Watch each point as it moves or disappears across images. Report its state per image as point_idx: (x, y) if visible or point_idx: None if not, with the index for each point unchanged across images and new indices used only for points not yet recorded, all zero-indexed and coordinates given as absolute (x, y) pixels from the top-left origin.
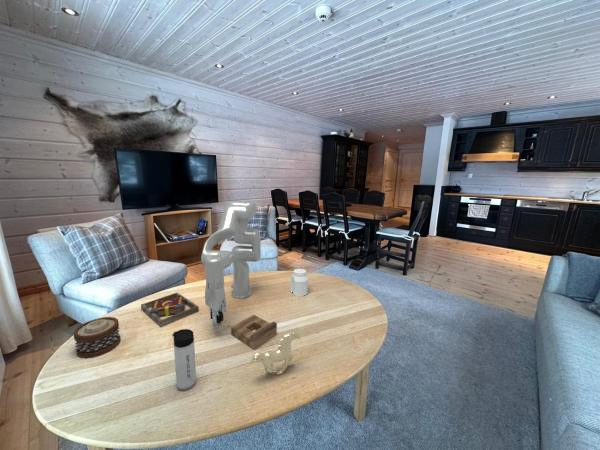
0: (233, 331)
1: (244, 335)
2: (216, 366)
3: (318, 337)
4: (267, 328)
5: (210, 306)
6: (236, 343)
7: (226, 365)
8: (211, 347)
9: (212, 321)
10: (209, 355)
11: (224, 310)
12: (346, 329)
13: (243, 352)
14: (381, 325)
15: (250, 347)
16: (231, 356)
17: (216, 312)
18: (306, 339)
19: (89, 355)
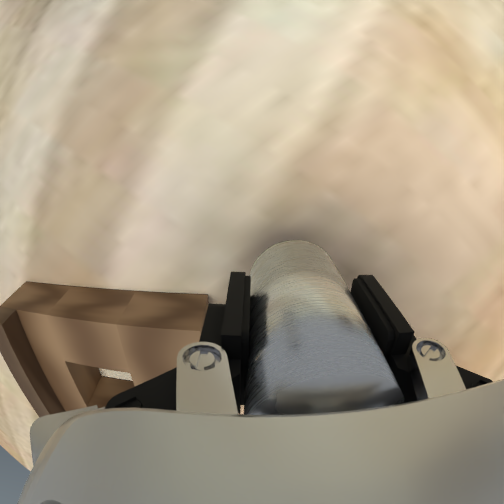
0: (172, 314)
1: (58, 317)
2: (39, 80)
3: (18, 416)
4: (28, 398)
5: (402, 443)
6: (109, 261)
7: (15, 124)
8: (189, 128)
9: (324, 262)
10: (130, 81)
11: (37, 451)
12: (28, 449)
13: (33, 239)
14: (22, 464)
15: (43, 284)
16: (41, 176)
17: (261, 380)
18: (18, 402)
19: None
